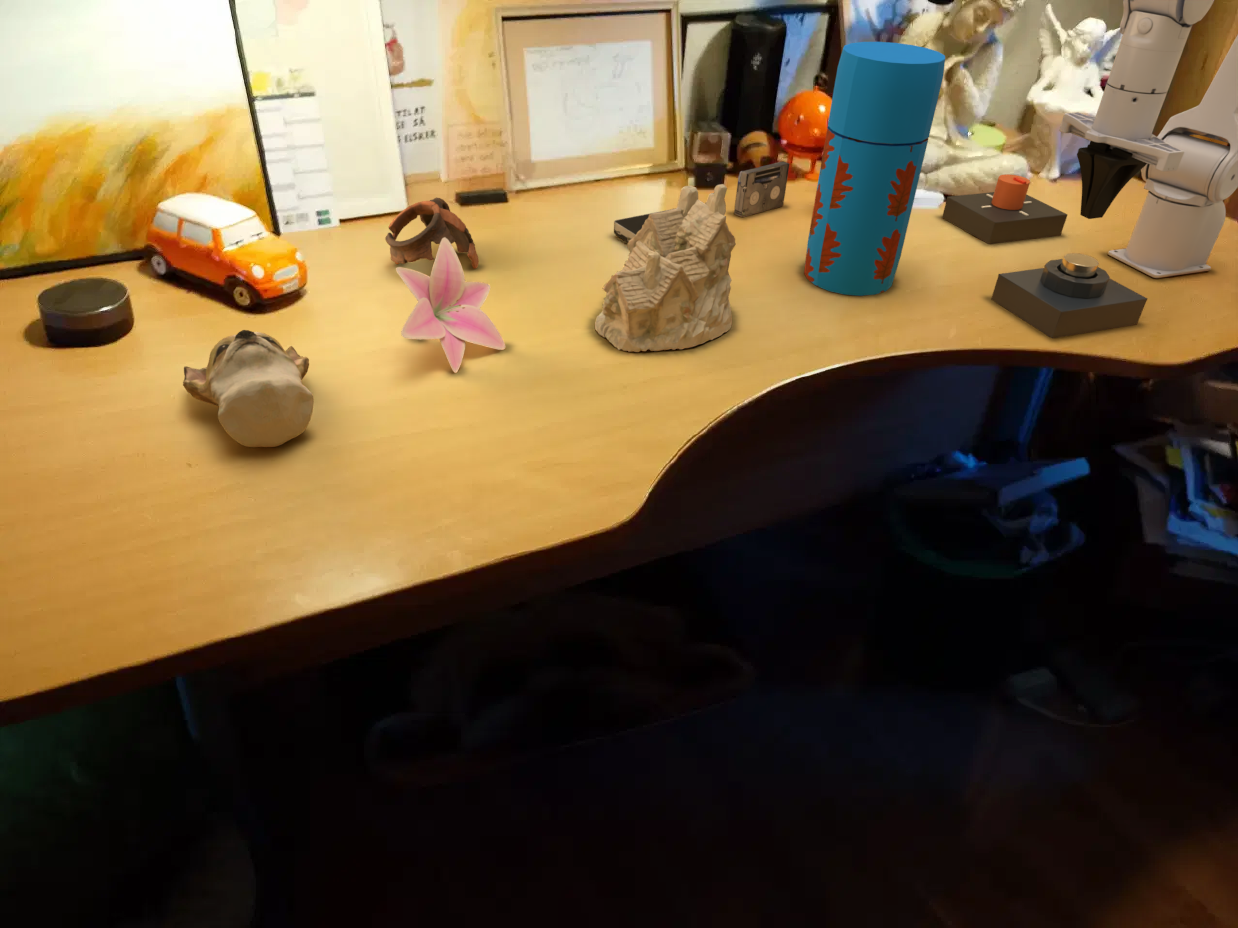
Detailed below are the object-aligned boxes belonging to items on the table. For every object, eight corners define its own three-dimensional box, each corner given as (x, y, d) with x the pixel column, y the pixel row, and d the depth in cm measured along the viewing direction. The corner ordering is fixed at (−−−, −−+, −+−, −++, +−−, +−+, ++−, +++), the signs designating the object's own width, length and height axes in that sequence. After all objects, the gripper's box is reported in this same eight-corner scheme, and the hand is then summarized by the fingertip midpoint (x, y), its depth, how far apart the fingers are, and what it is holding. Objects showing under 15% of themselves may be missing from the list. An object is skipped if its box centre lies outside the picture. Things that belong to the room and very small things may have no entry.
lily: (386, 393, 85) (422, 324, 79) (353, 301, 90) (385, 229, 84) (496, 395, 92) (537, 332, 86) (460, 310, 97) (497, 244, 91)
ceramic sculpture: (187, 379, 66) (160, 308, 77) (213, 478, 71) (184, 398, 82) (332, 350, 71) (287, 287, 82) (348, 444, 76) (303, 373, 87)
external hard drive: (611, 236, 116) (612, 220, 115) (681, 221, 121) (682, 207, 120) (641, 255, 111) (642, 239, 110) (713, 239, 116) (714, 224, 115)
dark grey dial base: (1010, 210, 130) (1017, 188, 128) (1060, 236, 122) (1068, 213, 121) (941, 217, 126) (947, 195, 124) (988, 244, 119) (995, 221, 117)
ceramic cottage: (688, 273, 107) (694, 146, 97) (756, 340, 95) (771, 204, 86) (564, 298, 102) (557, 168, 93) (619, 372, 90) (618, 232, 81)
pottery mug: (485, 282, 104) (446, 229, 98) (414, 312, 106) (372, 262, 100) (484, 219, 111) (449, 166, 105) (418, 248, 114) (380, 198, 108)
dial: (985, 201, 123) (992, 173, 121) (1008, 198, 125) (1016, 171, 122) (1004, 211, 120) (1013, 183, 118) (1028, 208, 122) (1037, 180, 119)
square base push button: (1071, 287, 109) (1086, 248, 106) (1136, 324, 101) (1154, 283, 98) (990, 299, 105) (1003, 258, 102) (1051, 338, 97) (1067, 296, 94)
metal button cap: (1076, 266, 102) (1082, 251, 101) (1100, 279, 99) (1106, 264, 98) (1051, 269, 101) (1056, 254, 100) (1075, 282, 98) (1080, 267, 97)
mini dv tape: (775, 203, 128) (781, 160, 125) (783, 206, 127) (789, 163, 124) (733, 214, 124) (739, 170, 121) (741, 217, 123) (747, 173, 120)
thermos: (887, 262, 112) (937, 45, 98) (900, 299, 104) (957, 67, 89) (799, 255, 113) (835, 38, 98) (805, 292, 104) (846, 60, 90)
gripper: (1055, 72, 97) (1017, 197, 105) (1164, 108, 86) (1113, 244, 94) (1106, 69, 99) (1065, 191, 107) (1219, 104, 88) (1164, 237, 96)
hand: (1091, 216), depth 100 cm, fingers closed
